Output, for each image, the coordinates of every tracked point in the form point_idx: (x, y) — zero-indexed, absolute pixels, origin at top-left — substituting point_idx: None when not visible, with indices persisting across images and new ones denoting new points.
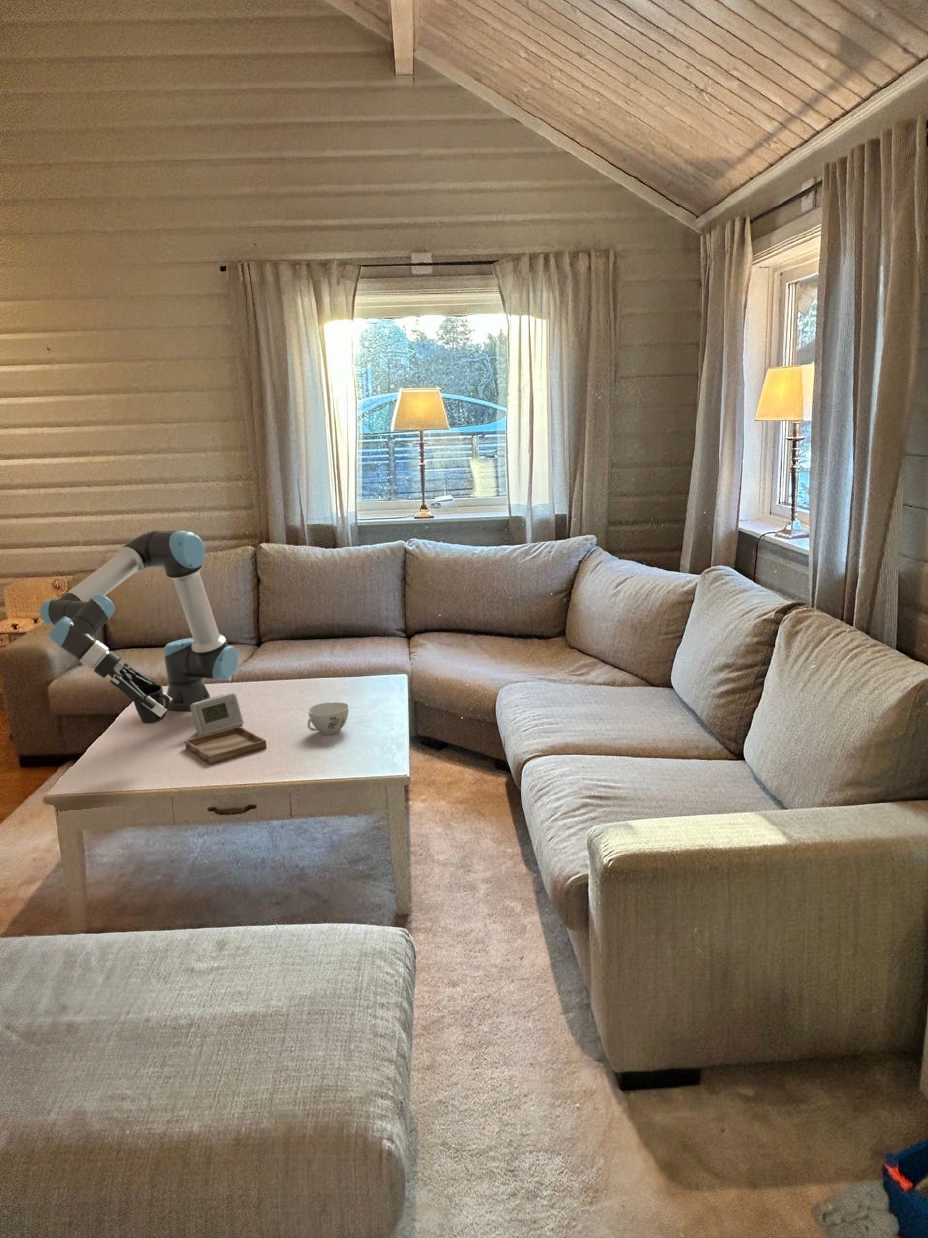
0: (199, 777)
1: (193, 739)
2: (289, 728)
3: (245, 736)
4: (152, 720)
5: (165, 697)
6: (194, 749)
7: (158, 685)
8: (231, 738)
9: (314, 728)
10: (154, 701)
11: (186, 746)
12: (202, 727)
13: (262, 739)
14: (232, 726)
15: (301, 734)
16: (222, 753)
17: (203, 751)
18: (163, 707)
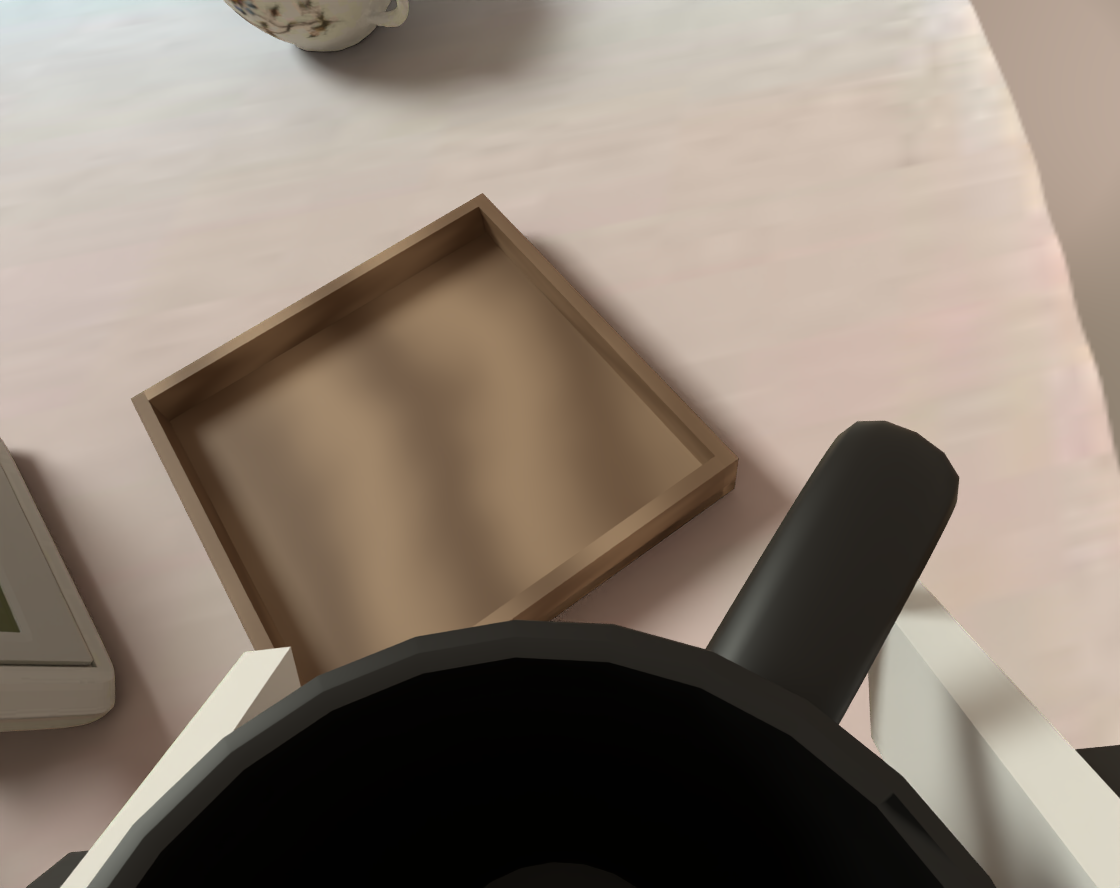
0: (975, 504)
1: None
2: (199, 190)
3: (276, 364)
4: None
5: (944, 464)
6: None
7: (200, 804)
8: (281, 442)
9: (385, 11)
10: (1074, 753)
11: None
12: (58, 660)
13: (460, 212)
14: (27, 490)
15: (323, 122)
16: (669, 387)
17: (615, 527)
18: (922, 614)
